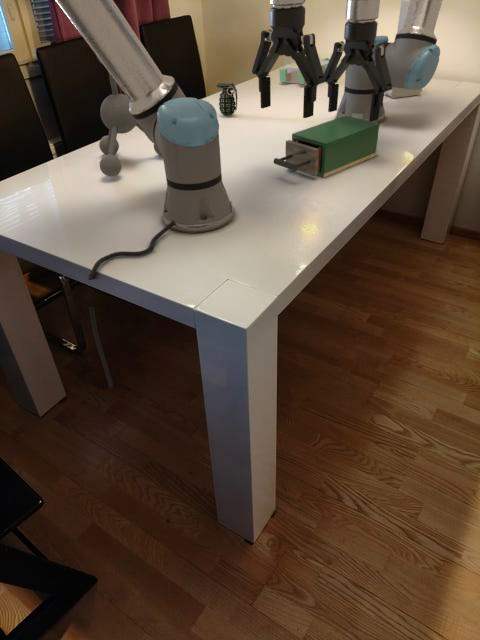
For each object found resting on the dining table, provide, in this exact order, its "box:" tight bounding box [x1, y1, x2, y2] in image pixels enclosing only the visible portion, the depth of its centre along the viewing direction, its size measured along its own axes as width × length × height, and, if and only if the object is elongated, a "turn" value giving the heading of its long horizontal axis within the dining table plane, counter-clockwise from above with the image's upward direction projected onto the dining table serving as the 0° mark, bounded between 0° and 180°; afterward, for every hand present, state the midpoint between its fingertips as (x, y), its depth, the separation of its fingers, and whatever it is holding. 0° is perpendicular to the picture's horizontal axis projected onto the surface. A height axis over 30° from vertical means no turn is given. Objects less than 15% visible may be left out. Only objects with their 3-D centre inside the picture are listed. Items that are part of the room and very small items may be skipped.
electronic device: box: [384, 0, 423, 99], centre depth 171 cm, size 12×8×30 cm, turn 105°
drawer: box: [272, 139, 323, 177], centre depth 125 cm, size 25×10×6 cm, turn 130°
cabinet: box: [291, 116, 380, 178], centre depth 128 cm, size 21×12×8 cm, turn 131°
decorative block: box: [279, 57, 338, 85], centre depth 205 cm, size 26×6×20 cm
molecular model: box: [96, 55, 163, 178], centre depth 128 cm, size 24×22×30 cm
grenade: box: [215, 82, 238, 117], centre depth 166 cm, size 7×6×10 cm
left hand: (286, 111), depth 116 cm, fingers open, 13 cm apart
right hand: (352, 115), depth 127 cm, fingers open, 13 cm apart
